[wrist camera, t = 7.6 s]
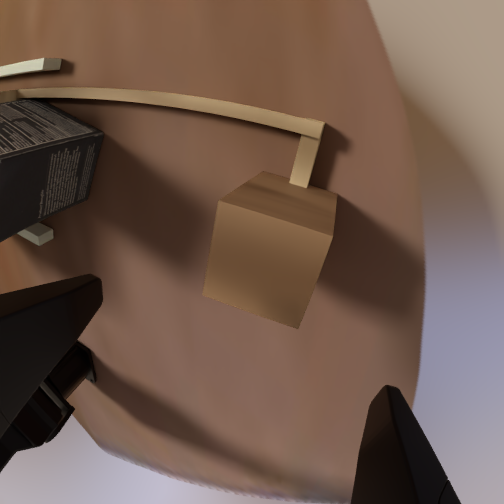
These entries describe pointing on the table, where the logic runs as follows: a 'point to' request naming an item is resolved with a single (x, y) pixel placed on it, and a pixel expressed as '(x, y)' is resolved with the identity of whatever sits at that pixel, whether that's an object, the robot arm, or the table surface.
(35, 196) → the small box
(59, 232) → the table surface
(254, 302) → the wooden block with bar
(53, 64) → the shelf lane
